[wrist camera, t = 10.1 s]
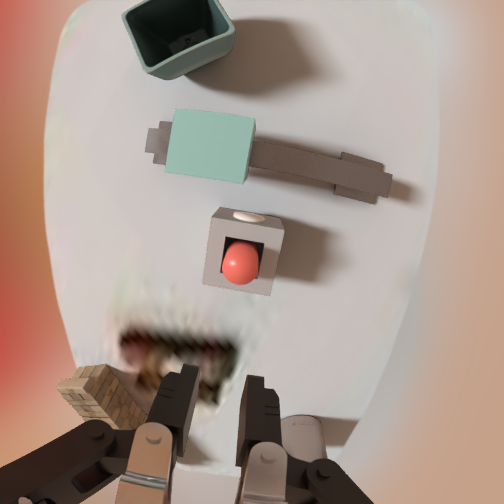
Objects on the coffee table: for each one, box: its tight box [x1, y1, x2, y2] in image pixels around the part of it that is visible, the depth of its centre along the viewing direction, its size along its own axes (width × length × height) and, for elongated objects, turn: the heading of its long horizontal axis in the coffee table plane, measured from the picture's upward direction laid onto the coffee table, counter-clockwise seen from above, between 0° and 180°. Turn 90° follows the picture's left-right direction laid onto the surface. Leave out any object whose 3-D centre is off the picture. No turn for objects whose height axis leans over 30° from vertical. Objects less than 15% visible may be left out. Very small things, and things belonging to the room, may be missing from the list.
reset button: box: [222, 239, 258, 285], centre depth 27 cm, size 3×3×4 cm
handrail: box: [145, 121, 392, 204], centre depth 28 cm, size 5×26×6 cm, turn 80°
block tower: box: [56, 364, 148, 430], centre depth 41 cm, size 8×8×29 cm
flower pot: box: [121, 0, 236, 80], centre depth 22 cm, size 9×9×9 cm
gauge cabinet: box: [202, 207, 285, 296], centre depth 31 cm, size 7×7×6 cm
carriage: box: [165, 109, 256, 184], centre depth 23 cm, size 5×6×7 cm
